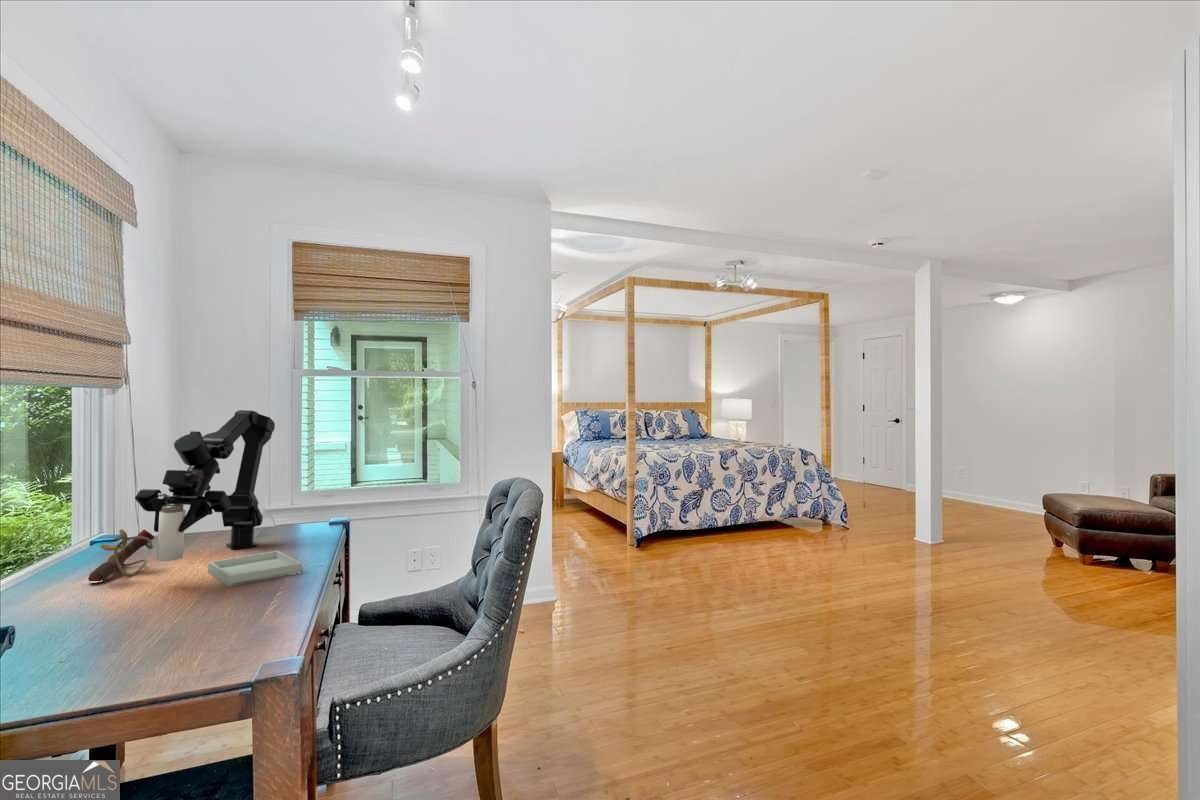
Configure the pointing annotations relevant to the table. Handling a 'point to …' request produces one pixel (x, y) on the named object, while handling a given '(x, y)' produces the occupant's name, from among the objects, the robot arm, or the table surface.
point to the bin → (253, 568)
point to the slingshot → (122, 555)
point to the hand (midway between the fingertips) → (167, 531)
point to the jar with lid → (170, 533)
